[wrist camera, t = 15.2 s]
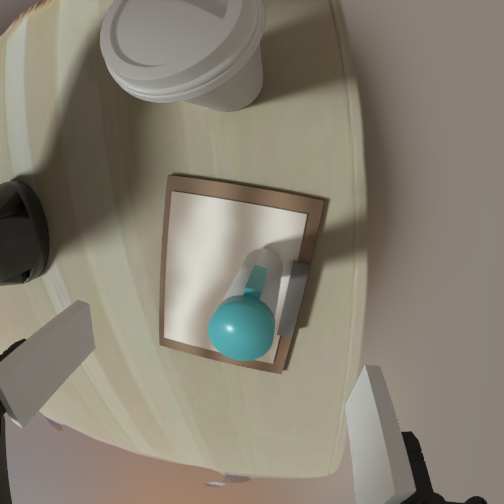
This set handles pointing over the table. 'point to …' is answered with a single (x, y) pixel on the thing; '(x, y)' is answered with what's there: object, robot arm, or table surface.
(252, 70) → the coffee cup
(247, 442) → the table surface
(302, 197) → the clipboard
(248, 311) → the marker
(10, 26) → the table surface
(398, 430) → the robot arm
